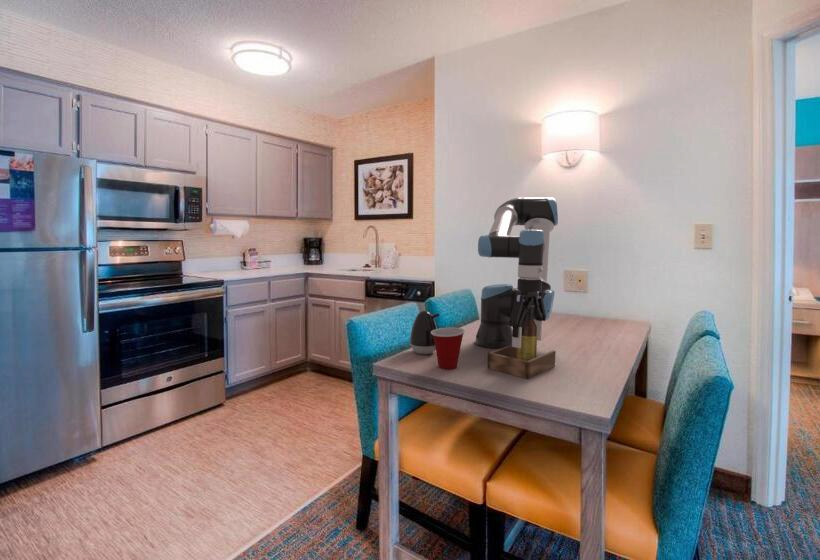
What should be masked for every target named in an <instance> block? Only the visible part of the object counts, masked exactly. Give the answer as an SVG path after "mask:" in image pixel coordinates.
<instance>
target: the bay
mask: <svg viewBox="0 0 820 560" xmlns="http://www.w3.org/2000/svg"><path fill="white" fill-rule="evenodd" d="M516 358H517V348H516V347H512V345H510V346H507V347H504V348H501V349H494V350H492V351H490V352H487V368H486V369H488V370H492V371H496V372H500V373H504V374H508V375H511V376H515V377H518V378H523V379H526V380H529V379H531V378H533V377H535V376H537V375H539V374H541V373H543V372H545V371H547V370H551V368H553V367H556V350H550V351H548V352H544V353H543V354H541V355H537V356H536V358H533V359H531V360H529V361H524V360H520V359H516Z"/></svg>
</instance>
